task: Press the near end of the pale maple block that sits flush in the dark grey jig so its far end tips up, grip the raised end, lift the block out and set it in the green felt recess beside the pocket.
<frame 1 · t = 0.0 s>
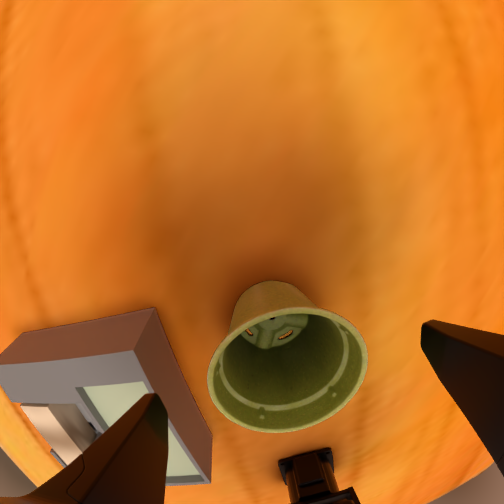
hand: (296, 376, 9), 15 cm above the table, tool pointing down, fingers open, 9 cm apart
maple block: (70, 418, 23), point 3 cm above the table, touching jig board
jig board: (113, 391, 26), on the table
plant pot: (271, 314, 25), on the table
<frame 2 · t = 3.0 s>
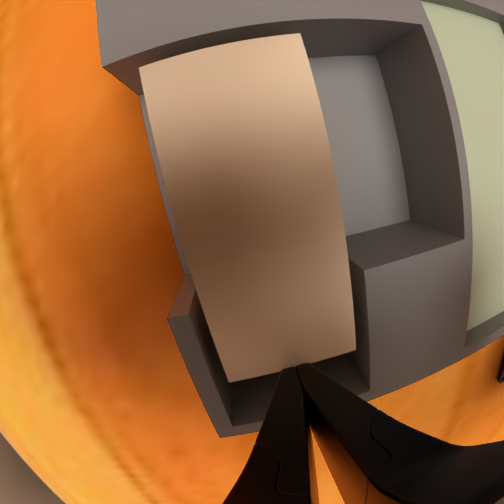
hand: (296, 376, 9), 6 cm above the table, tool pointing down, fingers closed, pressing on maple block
maple block: (251, 202, 11), point 3 cm above the table, touching gripper, jig board
jig board: (345, 153, 13), on the table
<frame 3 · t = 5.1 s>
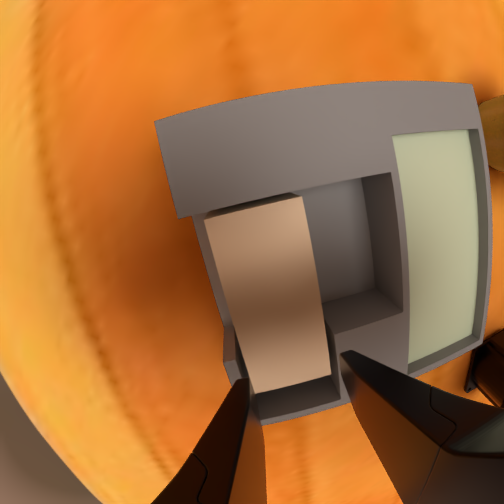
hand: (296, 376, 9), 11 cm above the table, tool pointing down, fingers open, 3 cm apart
maple block: (267, 281, 16), point 3 cm above the table, touching jig board
jig board: (334, 233, 19), on the table
plant pot: (492, 136, 18), on the table
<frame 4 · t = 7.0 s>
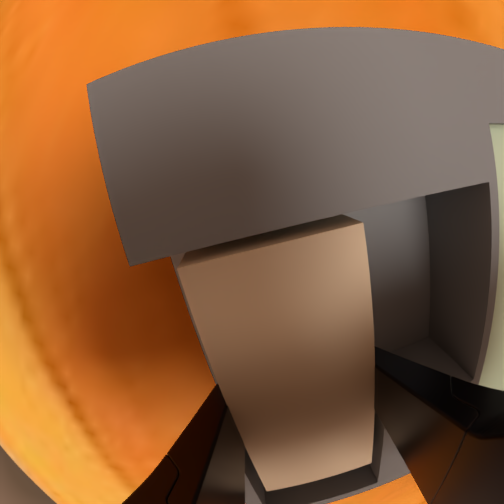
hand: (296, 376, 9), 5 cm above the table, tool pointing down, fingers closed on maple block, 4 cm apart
maple block: (285, 340, 11), point 3 cm above the table, touching gripper, jig board
jig board: (373, 260, 13), on the table
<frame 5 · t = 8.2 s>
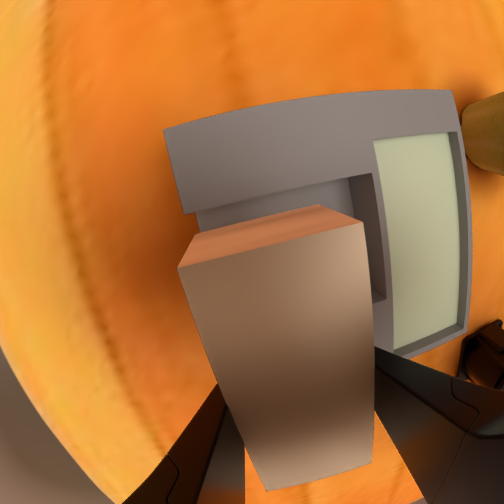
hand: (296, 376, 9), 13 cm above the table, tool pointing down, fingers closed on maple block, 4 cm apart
maple block: (285, 339, 11), point 11 cm above the table, touching gripper
jig board: (325, 229, 21), on the table
plant pot: (478, 137, 20), on the table
when the fingers open (10 cm above the table, at t = 9.7 s): maple block drops 3 cm, resting on jig board.
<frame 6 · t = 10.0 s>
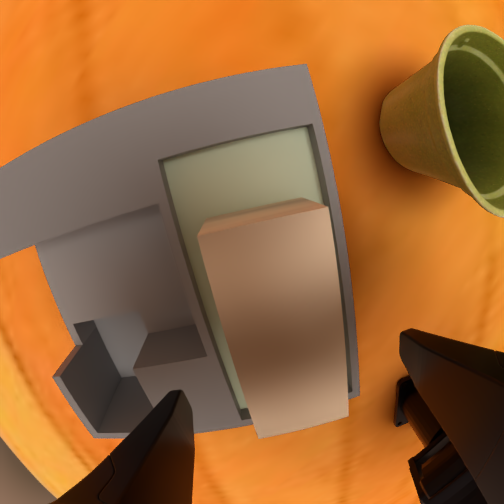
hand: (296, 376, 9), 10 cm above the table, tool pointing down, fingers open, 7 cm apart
maple block: (275, 306, 13), point 6 cm above the table, touching jig board
jig board: (181, 259, 18), on the table
plant pot: (413, 129, 17), on the table
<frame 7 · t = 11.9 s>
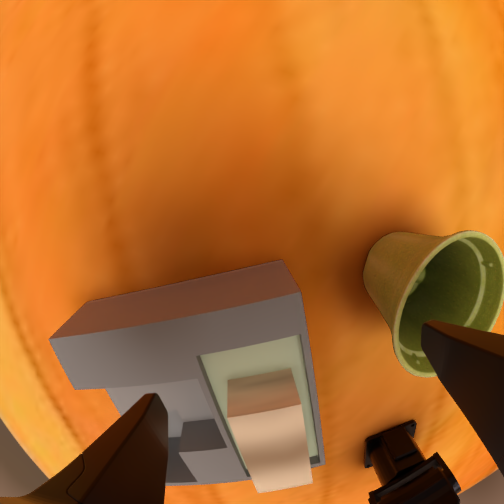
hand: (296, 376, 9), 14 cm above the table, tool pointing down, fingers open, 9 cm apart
maple block: (270, 421, 19), point 6 cm above the table, touching jig board
jig board: (205, 370, 24), on the table
plant pot: (393, 268, 23), on the table
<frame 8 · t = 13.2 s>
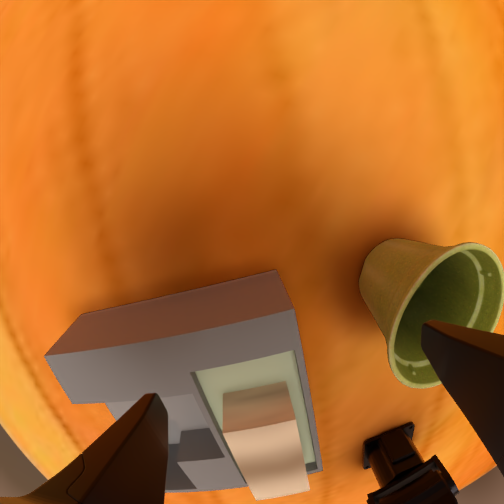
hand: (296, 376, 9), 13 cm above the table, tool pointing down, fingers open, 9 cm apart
maple block: (267, 431, 19), point 6 cm above the table, touching jig board
jig board: (201, 379, 24), on the table
plant pot: (390, 274, 23), on the table
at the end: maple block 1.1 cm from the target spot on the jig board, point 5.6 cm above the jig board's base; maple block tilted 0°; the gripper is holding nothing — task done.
